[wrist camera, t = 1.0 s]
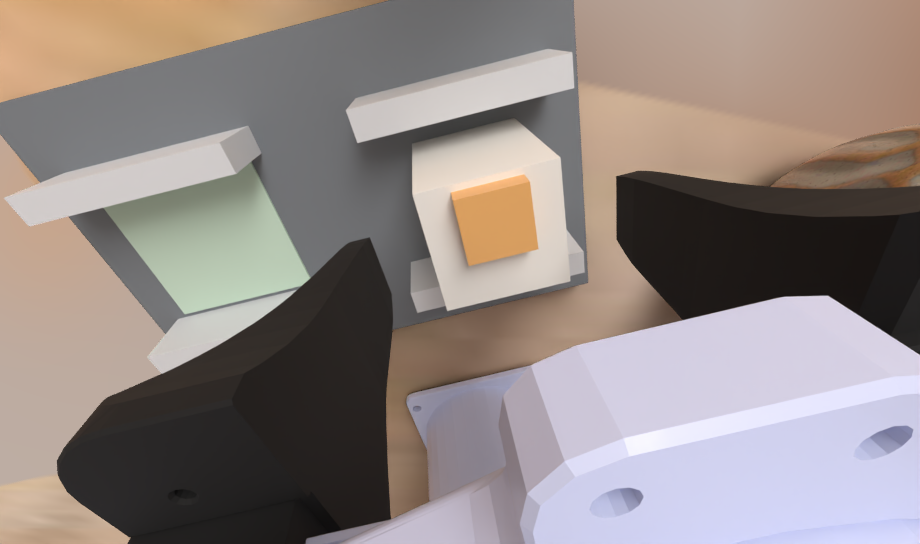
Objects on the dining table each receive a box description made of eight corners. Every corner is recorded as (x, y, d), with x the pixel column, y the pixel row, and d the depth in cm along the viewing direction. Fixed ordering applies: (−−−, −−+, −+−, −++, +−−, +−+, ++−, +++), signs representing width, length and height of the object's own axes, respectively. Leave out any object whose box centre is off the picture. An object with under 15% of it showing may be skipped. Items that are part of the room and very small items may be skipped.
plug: (527, 212, 17) (577, 292, 12) (437, 234, 17) (448, 322, 12) (514, 117, 15) (568, 164, 10) (412, 143, 15) (412, 203, 10)
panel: (580, 272, 20) (609, 313, 17) (208, 362, 21) (175, 417, 18) (561, -43, 13) (603, -64, 10) (5, 103, 14) (-106, 123, 11)
